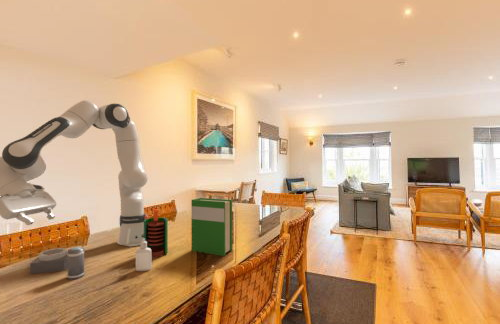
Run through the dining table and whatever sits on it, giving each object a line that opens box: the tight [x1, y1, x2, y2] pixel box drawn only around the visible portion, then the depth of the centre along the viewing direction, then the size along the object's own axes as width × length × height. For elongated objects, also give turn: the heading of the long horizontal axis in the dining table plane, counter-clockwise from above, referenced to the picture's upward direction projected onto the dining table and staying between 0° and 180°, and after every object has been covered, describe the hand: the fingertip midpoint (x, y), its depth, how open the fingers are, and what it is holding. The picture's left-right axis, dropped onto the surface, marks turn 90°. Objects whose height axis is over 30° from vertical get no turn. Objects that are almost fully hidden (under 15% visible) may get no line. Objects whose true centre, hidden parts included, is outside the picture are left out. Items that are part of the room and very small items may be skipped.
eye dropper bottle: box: [135, 238, 153, 272], centre depth 103 cm, size 4×6×12 cm
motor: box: [144, 208, 169, 258], centre depth 120 cm, size 10×9×20 cm
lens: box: [67, 246, 85, 280], centre depth 96 cm, size 5×5×10 cm
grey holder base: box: [29, 247, 68, 275], centre depth 106 cm, size 11×11×6 cm
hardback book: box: [191, 197, 233, 257], centre depth 124 cm, size 18×7×24 cm, turn 66°
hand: (42, 220), depth 97 cm, fingers open, 8 cm apart
